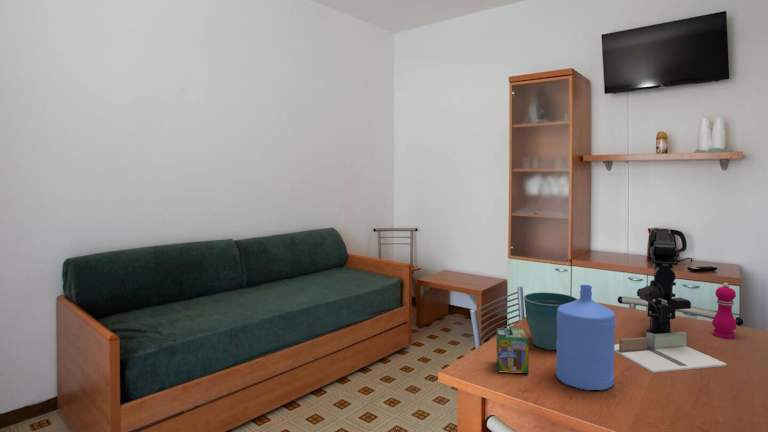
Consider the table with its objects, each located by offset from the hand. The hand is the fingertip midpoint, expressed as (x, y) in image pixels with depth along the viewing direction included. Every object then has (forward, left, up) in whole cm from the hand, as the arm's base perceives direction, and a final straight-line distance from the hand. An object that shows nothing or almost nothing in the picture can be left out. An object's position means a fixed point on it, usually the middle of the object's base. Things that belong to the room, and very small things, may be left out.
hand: (661, 321), depth 161 cm
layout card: (+10, -8, -8) cm, 15 cm away
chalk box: (+9, -61, -8) cm, 62 cm away
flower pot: (-7, -39, -8) cm, 40 cm away
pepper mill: (-2, +28, -8) cm, 29 cm away
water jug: (+21, -44, -8) cm, 49 cm away
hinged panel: (+5, -1, -7) cm, 9 cm away
